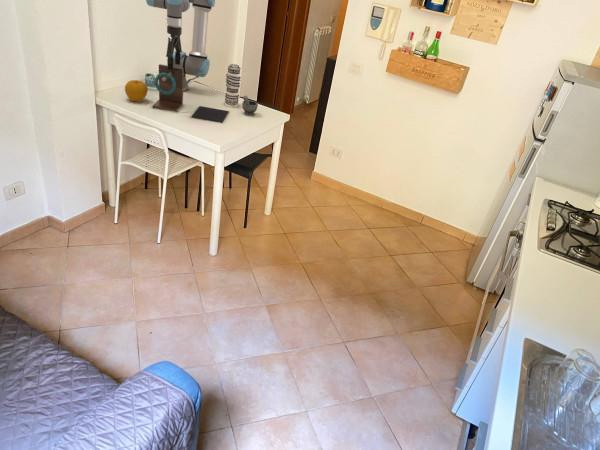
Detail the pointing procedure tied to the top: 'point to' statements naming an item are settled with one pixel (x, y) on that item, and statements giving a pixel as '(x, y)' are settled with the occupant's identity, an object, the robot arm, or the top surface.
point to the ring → (160, 88)
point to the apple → (136, 90)
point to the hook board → (174, 99)
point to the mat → (210, 114)
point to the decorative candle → (232, 85)
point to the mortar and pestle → (249, 106)
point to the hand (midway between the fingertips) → (174, 67)
